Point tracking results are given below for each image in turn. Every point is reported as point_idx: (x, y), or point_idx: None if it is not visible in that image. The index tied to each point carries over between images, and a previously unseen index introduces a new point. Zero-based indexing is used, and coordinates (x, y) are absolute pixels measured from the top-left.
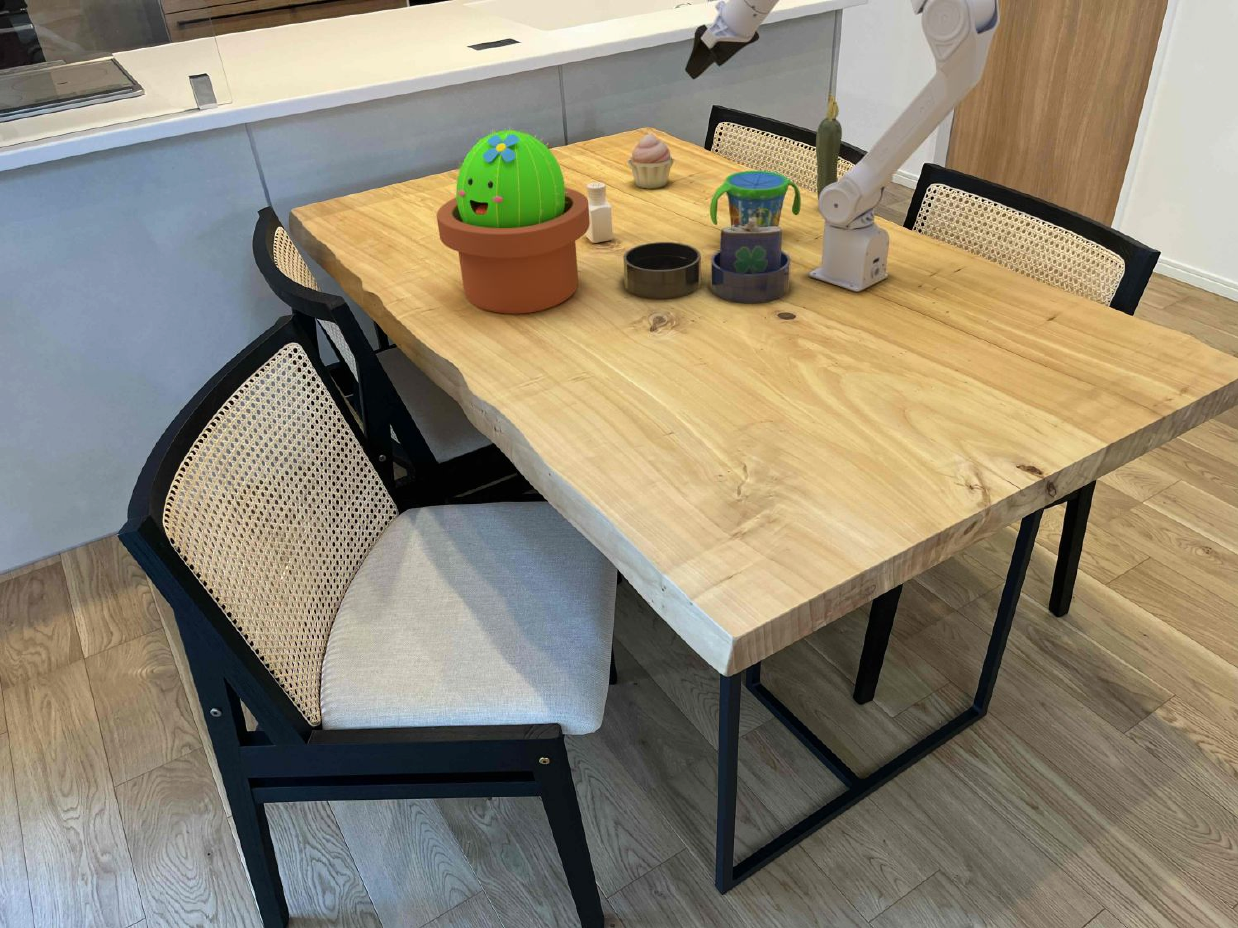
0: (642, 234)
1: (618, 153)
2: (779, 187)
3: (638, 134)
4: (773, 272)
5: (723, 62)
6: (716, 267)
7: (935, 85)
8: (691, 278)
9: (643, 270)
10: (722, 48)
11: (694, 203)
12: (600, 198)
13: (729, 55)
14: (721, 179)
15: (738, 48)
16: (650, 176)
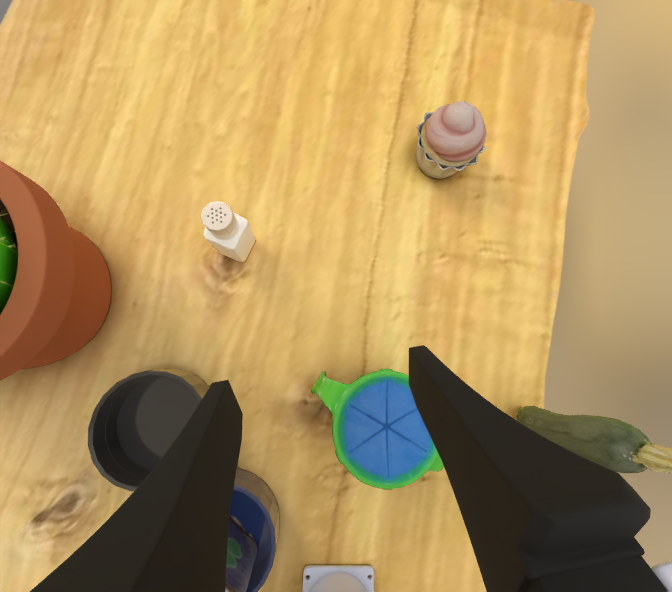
0: (286, 278)
1: (499, 42)
2: (383, 488)
3: (575, 11)
4: None
5: (418, 405)
6: None
7: None
8: None
9: (88, 446)
10: (435, 409)
11: (419, 254)
12: (215, 235)
13: (435, 439)
14: (515, 220)
15: (459, 499)
16: (425, 163)
